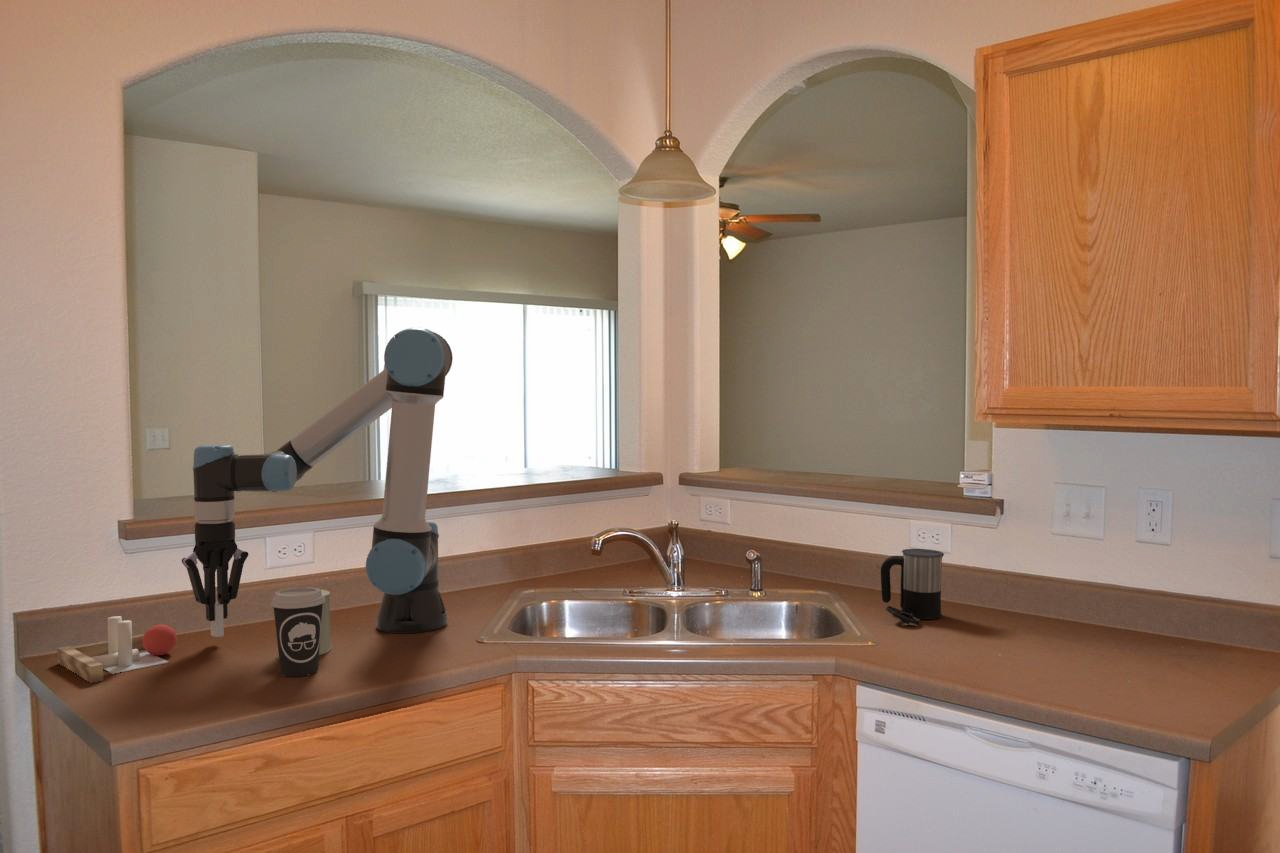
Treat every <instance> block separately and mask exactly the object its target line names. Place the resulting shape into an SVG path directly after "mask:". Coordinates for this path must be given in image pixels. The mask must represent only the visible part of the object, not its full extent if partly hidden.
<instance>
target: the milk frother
mask: <svg viewBox="0 0 1280 853" xmlns="http://www.w3.org/2000/svg"><path fill="white" fill-rule="evenodd" d="M901 553H902V555H892V556H888V557H887V558H885V559H884V560H883V561H882V564H881V566H880V588H881V589H880V590H881V599H882V601H883V603H885V604H886V603H887V604H888V603H890V602H891V599H892V595H891V593H892V591H891V588H892V587H891V568H892V567H894V566H900V570H901V571H900V603H899V605H900V608H901V610H900V609H899V608H896V607H893V606H891V605H889V606H888V605H887V606H886V607H885V611H887V612H888V613H889V614H891V615H892V616H894V617H895V618H898V619H899V620H900V621H902V622H903V623H905V624H908V625H909V624H914V625H919V624H920V623H921V622H920V621H921V620H924V619H931V620H936V619H935V618H939V619H941V618H942V617H943V614H942V599H941V596H942V569H943V568H942V566H943V565H942V564H943V557H944V556H945V553H944V552H942V551H940V550H935V549H924V548H905V549H903V550H901ZM940 617H941V618H940Z"/></svg>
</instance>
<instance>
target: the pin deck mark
mask: <svg viewBox="0 0 1280 853" xmlns="http://www.w3.org/2000/svg"><path fill="white" fill-rule="evenodd" d="M139 656H140V657H139V660H138V661H133V665H132V666H129V667H118V664H117V665H112V666H107V667H103V669H104V670H103V671H105V670H106V671H105V672H107V671H108V672H107V673H109V674H111V675H116V674H120V672H121V673H124V672H130V671H135V670H140V669H145V668H150V667H155V666H160V665H164V664H165V665H166V664H169V661H168V660H166V659H164V658H162V657H160V656H156V655H152V654H150V653H148V652H147V651H146V650H143V651H139ZM115 673H116V674H115Z"/></svg>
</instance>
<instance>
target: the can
mask: <svg viewBox="0 0 1280 853" xmlns="http://www.w3.org/2000/svg"><path fill="white" fill-rule="evenodd" d="M320 590H321V593H322V594H323V595H324V597H325V602H324V603H323V607H322V620H321V633H320V647H319V656H321V655H325V654H327V653H329V652H330V651H331V650H332V645H331V610H330V608H331V606H330V605H331V601H330V600H331V599H330V598H331V592H330V591H328V590H326V589H320Z"/></svg>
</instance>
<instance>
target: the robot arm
mask: <svg viewBox="0 0 1280 853" xmlns="http://www.w3.org/2000/svg"><path fill="white" fill-rule="evenodd" d="M383 353H384V356H383V360H384V365H383V370H382V371H380V372H379V373H378V374H376V375H375V376H374V377H372V378H371V379H370V380H369V381H367V382H366V383H365V384H363V385H362V386H360V387H359V388H358V389H357V390H355V391H354V392H352V393H351V394H350V395H349V396H347V397H346V398H345V399H343V400H342V401H340V402H339V403H338V404H337V405H335V406H334V407H332V408H331V409H330V410H328V411H327V412H326V413H325V414H324V415H321V417H320V418H318V419H316V420H315V421H314V422H313V423H311V424H310V425H308V426H307V427H306V428H305V429H303V430H302V431H301V432H299V433H298V434H297V435H295V436H294V437H293V438H292V439H290V440H289V441H287V442H286V443H284V444H283V445H281V447H279V448H278V449H277V450H276V451H272V452H268V453H264V454H263V453H262V454H236V453H235V451H234V447H233V446H232V445H230V444H204V445H198V446H196V448H195V449H194V451H193V465H192V472H193V493H194V495H193V502H194V504H193V505H194V508H193V509H194V520H195V521H197V522H195V524H194V542H195V543H194V544H195V545H194V546H193V549H192V553H191V554H189V555H188V556H187V557H183V558H182V559H181V563H182V564H183V566H184V567H185V568H186V570H187V573H188V577H189V582H190V585H191V588H192V592H193V596H194V599H195V601H196V603H199V604H201V605H204V606H205V619H206V620H207V621H208V622H210V635H211V636H212V637H214V638H220V637H224V636H225V634H224V633H225V630H224V629H225V628H224V627H225V625H224V624H225V623H224V620H225V619H227V618H228V615H229V614H228V612H229V611H228V605H229V604H230V602H231V601H232V600H236V598H237V597H238V592H239V588H240V583H241V578H242V573H243V569H244V563H245V562H246V560H247V558H248V557H249V552H248V551H245V550H242V549H241V548H239V547H238V545H237V543H236V523H235V521H234V518H235V517H236V514H235V513H236V512H235V509H236V508H235V492H272V493H277V492H285V491H286V492H287V491H291V490H293V488H294V486H295V484H296V483H297V482H298V481H300V480H301V479H302V478H303V477H304V476H305V474H306V473H307V472H308V471H310V470H311V469H312V468H314V467H315V466H316V465H317V464H319V463H320V462H322V461H323V460H324V459H326V458H327V457H329V456H330V455H331V454H332V453H333V452H335V451H336V450H337V449H339V448H340V447H341V446H343V445H344V444H345V443H347V442H348V441H349V440H351V439H352V438H354V437H355V436H356V435H357V434H359V433H360V432H362V431H363V430H364V429H366V428H367V427H368V426H369V425H371V424H373V422H375V421H377V419H379V418H380V417H381V416H383V415H385V413H387V412H388V411H390V410H391V412H390V414H391V415H390V422H389V423H390V425H389V438H388V446H387V447H388V448H387V456H386V457H387V460H386V471H385V483H384V490H383V491H384V492H383V501H382V502H383V504H382V516H381V517H380V518H379V519H378V520H377V521H376V522H374V524H373V529H372V530H373V531H372V538H371V539H372V540H371V548H370V550H369V552H368V554H367V557H366V560H365V561H366V562H365V573H366V575H367V578H368V580H369V582H370V583H371V585H372V586H373V587H374V588H376V589H377V590H378V591H381V592H382V593H383V595H382V599H381V602H380V605H379V608H378V612H377V615H376V628H377V630H379V631H381V632H385V633H389V634H390V633H393V634H417V633H425V632H430V631H431V632H432V631H435V630H439V629H441V628H444V627H445V626H446V625H447V624H448V613H447V610H446V606H445V605H444V601H443V598H442V595H441V592H440V589H439V588H440V587H439V538H440V534H439V530H438V528H439V527H438V525H437V523H436V522H435V521H426V510H427V500H428V491H429V490H428V488H429V480H430V479H429V477H430V466H431V454H432V444H433V436H434V434H433V432H434V424H435V422H434V421H435V411H436V405H437V403H438V402H440V400H442V399H443V398H444V396H445V395H444V394H445V393H444V392H445V385H446V376H447V375H448V374H449V373H450V370H451V369H452V364H453V352H452V349H451V345H449V342H448V341H447V340H446V338H444V337H443V336H442V335H440V334H438V333H436V332H435V331H432V330H430V329H427V328H423V327H419V326H418V327H409V328H405V329H402V330H400V331H399V332H397V333H396V334H394V335H393V336H392V337H391V338H390V339H389V341H388V343H387V344H386V346H385V349H384V352H383ZM232 558H233V560H232V564H231V568H230V567H229V566H230V565H229V562H230V561H231V559H232ZM198 561H199V562H200V563H201V564H202V570H203V577H204V578H203V579H204V580H203V581H202V578H201V575H200V570H199V568H198V566H197V565H198ZM229 568H230V573H229ZM202 582H203V583H204V585H203V583H202ZM216 593H217V594H216ZM216 595H217V596H216ZM216 597H217V602H216ZM443 626H444V627H443ZM438 628H439V629H438Z"/></svg>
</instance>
